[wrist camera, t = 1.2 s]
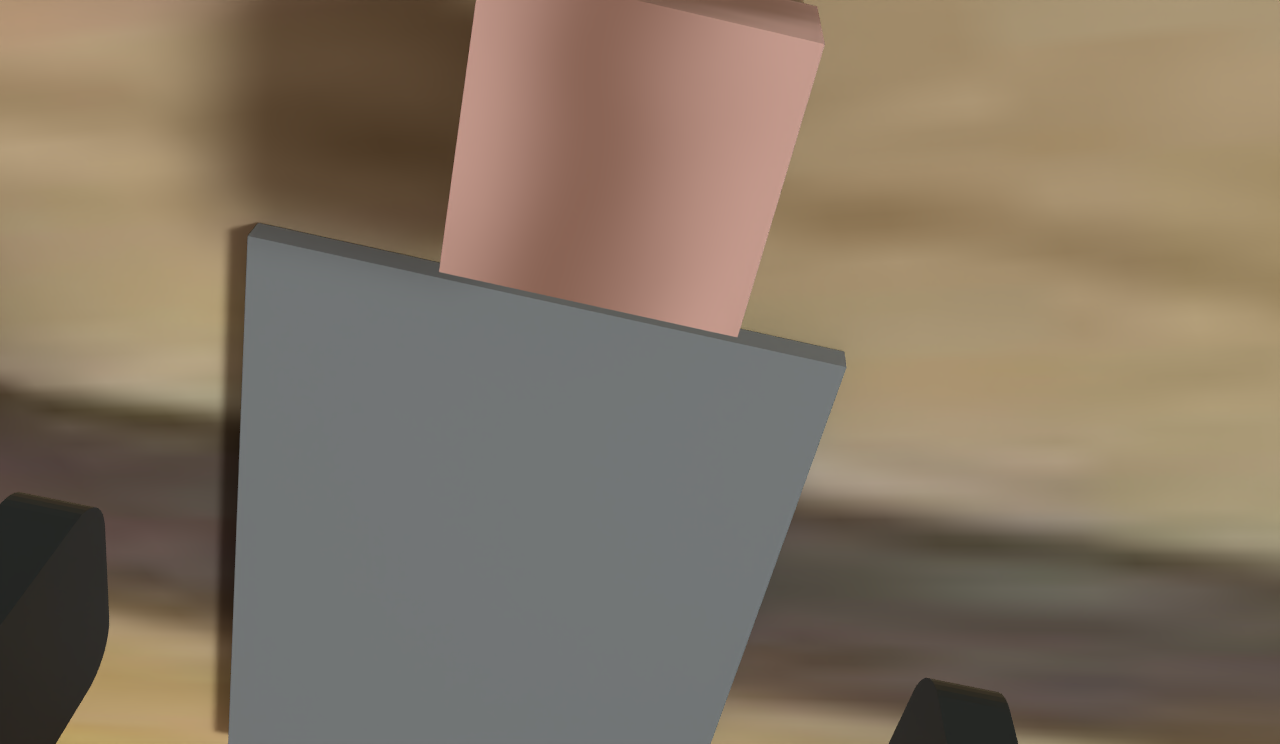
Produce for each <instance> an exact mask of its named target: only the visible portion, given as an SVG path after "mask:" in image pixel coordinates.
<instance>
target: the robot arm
mask: <svg viewBox="0 0 1280 744" xmlns="http://www.w3.org/2000/svg"><path fill="white" fill-rule="evenodd" d="M108 630H109V606H108V584H107V562H106V540H105V523H104V517H103V514H102V512H101V511H100V510H99V509H98V508H95V507H91V506H86V505H81V504H76V503H71V502H66V501H61V500H56V499H51V498H46V497H41V496H36V495H31V494H26V493H21V492H17V493H13V494H11V495H10V496H8V497H7V498H6V499H5V500H4V501H3V502H2V503H1V504H0V744H56V742H57V741H58V739H59V737H60V736H61V734H62V733H63V731H64V729H65V728H66V726H67V724H68V723H69V721H70V719H71V718H72V716H73V714H74V713H75V711H76V709H77V708H78V706H79V705H80V703H81V701H82V700H83V698H84V696H85V695H86V693H87V691H88V690H89V688H90V686H91V684H92V682H93V680H94V678H95V676H96V674H97V671H98V669H99V666H100V663H101V661H102V658H103V654H104V651H105V647H106V642H107V637H108ZM889 744H1018V741H1017V737H1016V733H1015V729H1014V725H1013V721H1012V717H1011V713H1010V710H1009V706H1008V703H1007V701H1006V699H1005V698H1004V696H1003V695H1002V694H1000V693H999V692H995V691H990V690H985V689H980V688H975V687H970V686H965V685H960V684H955V683H950V682H945V681H940V680H935V679H930V678H924V679H922V680H921V681H920V682H919V683H918V685H917V686H916V688H915V690H914V691H913V694H912V696H911V698H910V700H909V702H908V704H907V706H906V708H905V710H904V713H903V715H902V717H901V719H900V721H899V723H898V725H897V727H896V729H895V731H894V734H893V736H892V738H891V740H890V742H889Z"/></svg>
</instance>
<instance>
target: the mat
mask: <svg viewBox="0 0 1280 744" xmlns="http://www.w3.org/2000/svg"><path fill="white" fill-rule="evenodd" d="M439 268H440V263H439V262H434V261H430V260H425V259H421V258H416V257H411V256H407V255H402V254H398V253H393V252H389V251H384V250H380V249H375V248H371V247H366V246H361V245H357V244H352V243H348V242H343V241H339V240H334V239H330V238H325V237H321V236H316V235H311V234H307V233H302V232H298V231H293V230H289V229H284V228H280V227H275V226H271V225H266V224H261V223H258V224H257V225H256V226H255V227H254V229H253V230H252V231H251V232H250V234H249V235H248V241H247V267H246V293H245V319H244V346H243V372H242V398H241V424H240V451H239V477H238V503H237V529H236V555H235V582H234V608H233V634H232V660H231V687H230V713H229V739H228V744H711V741H712V738H713V736H714V733H715V730H716V727H717V724H718V722H719V719H720V716H721V713H722V711H723V708H724V705H725V702H726V700H727V697H728V694H729V691H730V688H731V686H732V683H733V680H734V677H735V675H736V672H737V669H738V666H739V664H740V661H741V658H742V655H743V652H744V650H745V647H746V644H747V641H748V639H749V636H750V633H751V630H752V628H753V625H754V622H755V619H756V616H757V614H758V611H759V608H760V605H761V603H762V600H763V597H764V594H765V592H766V589H767V586H768V583H769V580H770V578H771V575H772V572H773V569H774V567H775V564H776V561H777V558H778V555H779V553H780V550H781V547H782V544H783V542H784V539H785V536H786V533H787V531H788V528H789V525H790V522H791V519H792V517H793V514H794V511H795V508H796V506H797V503H798V500H799V497H800V495H801V492H802V489H803V486H804V483H805V481H806V478H807V475H808V472H809V470H810V467H811V464H812V461H813V459H814V456H815V453H816V450H817V447H818V445H819V442H820V439H821V436H822V434H823V431H824V428H825V425H826V423H827V420H828V417H829V414H830V411H831V409H832V406H833V403H834V400H835V398H836V395H837V392H838V389H839V387H840V384H841V381H842V378H843V375H844V373H845V370H846V360H845V354H844V352H843V351H839V350H834V349H830V348H825V347H821V346H816V345H811V344H807V343H802V342H798V341H793V340H789V339H784V338H780V337H775V336H771V335H766V334H761V333H757V332H752V331H748V330H743V329H740V331H739V334H738V337H733V336H729V335H724V334H719V333H715V332H710V331H706V330H701V329H697V328H692V327H688V326H683V325H678V324H674V323H669V322H665V321H660V320H656V319H651V318H647V317H642V316H637V315H633V314H628V313H624V312H619V311H615V310H610V309H606V308H601V307H596V306H592V305H587V304H583V303H578V302H574V301H569V300H565V299H560V298H555V297H551V296H546V295H542V294H537V293H533V292H528V291H524V290H519V289H514V288H510V287H505V286H501V285H496V284H492V283H487V282H483V281H478V280H473V279H469V278H464V277H460V276H455V275H451V274H446V273H442V272H439Z"/></svg>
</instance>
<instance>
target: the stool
mask: <svg viewBox="0 0 1280 744" xmlns="http://www.w3.org/2000/svg"><path fill="white" fill-rule="evenodd" d="M824 45H825V42H824V38H823V33H822V28H821V23H820V18H819V13H818V9H817V6H813V5H809V4H804V3H803V0H476V4H475V11H474V19H473V26H472V33H471V41H470V48H469V55H468V63H467V70H466V77H465V85H464V92H463V99H462V107H461V114H460V121H459V129H458V136H457V143H456V151H455V158H454V166H453V173H452V180H451V188H450V195H449V202H448V210H447V217H446V224H445V232H444V239H443V246H442V254H441V261H440V268H439V272H442V273H446V274H451V275H455V276H460V277H464V278H469V279H473V280H478V281H483V282H487V283H492V284H496V285H501V286H505V287H510V288H514V289H519V290H524V291H528V292H533V293H537V294H542V295H546V296H551V297H555V298H560V299H565V300H569V301H574V302H578V303H583V304H587V305H592V306H596V307H601V308H606V309H610V310H615V311H619V312H624V313H628V314H633V315H637V316H642V317H647V318H651V319H656V320H660V321H665V322H669V323H674V324H678V325H683V326H688V327H692V328H697V329H701V330H706V331H710V332H715V333H719V334H724V335H729V336H733V337H738V334H739V331H740V327H741V324H742V321H743V317H744V314H745V311H746V307H747V304H748V300H749V297H750V294H751V290H752V287H753V284H754V280H755V277H756V274H757V270H758V267H759V264H760V260H761V257H762V253H763V250H764V247H765V243H766V240H767V237H768V233H769V230H770V227H771V223H772V220H773V217H774V213H775V210H776V206H777V203H778V200H779V196H780V193H781V190H782V186H783V183H784V180H785V176H786V173H787V170H788V166H789V163H790V159H791V156H792V153H793V149H794V146H795V143H796V139H797V136H798V133H799V129H800V126H801V123H802V119H803V116H804V113H805V109H806V106H807V102H808V99H809V96H810V92H811V89H812V86H813V82H814V79H815V76H816V72H817V69H818V66H819V62H820V59H821V55H822V52H823V49H824Z"/></svg>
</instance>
